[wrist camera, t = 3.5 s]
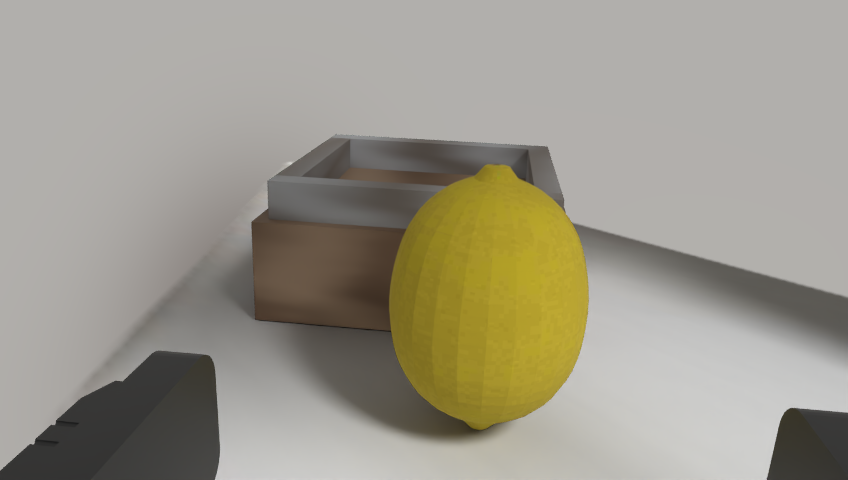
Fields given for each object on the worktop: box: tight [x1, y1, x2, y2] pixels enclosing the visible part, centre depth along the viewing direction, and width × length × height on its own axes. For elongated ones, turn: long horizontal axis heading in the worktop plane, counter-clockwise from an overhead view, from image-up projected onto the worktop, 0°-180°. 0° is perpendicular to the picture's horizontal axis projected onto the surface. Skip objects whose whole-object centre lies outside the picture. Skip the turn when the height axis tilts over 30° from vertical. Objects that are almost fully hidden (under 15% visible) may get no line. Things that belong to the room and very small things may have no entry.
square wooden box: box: [251, 134, 565, 331], centre depth 32 cm, size 12×12×6 cm
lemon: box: [389, 164, 589, 430], centre depth 20 cm, size 6×6×8 cm
